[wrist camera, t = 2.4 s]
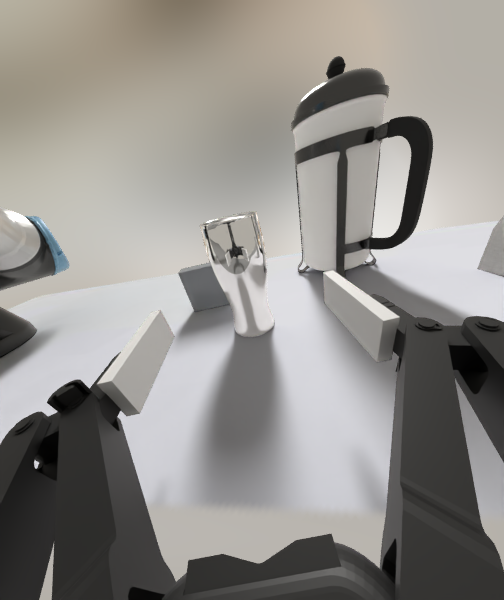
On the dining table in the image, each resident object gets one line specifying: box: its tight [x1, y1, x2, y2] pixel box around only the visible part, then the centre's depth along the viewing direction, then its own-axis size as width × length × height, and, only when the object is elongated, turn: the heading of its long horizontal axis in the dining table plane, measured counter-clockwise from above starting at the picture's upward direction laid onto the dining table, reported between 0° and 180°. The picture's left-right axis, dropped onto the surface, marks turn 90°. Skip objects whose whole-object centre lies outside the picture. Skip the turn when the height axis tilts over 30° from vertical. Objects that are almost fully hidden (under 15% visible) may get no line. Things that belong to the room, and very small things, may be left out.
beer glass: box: [200, 211, 274, 337], centre depth 24 cm, size 7×7×15 cm
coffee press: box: [291, 56, 433, 278], centre depth 31 cm, size 17×16×30 cm
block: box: [178, 263, 229, 312], centre depth 34 cm, size 2×9×8 cm, turn 94°
